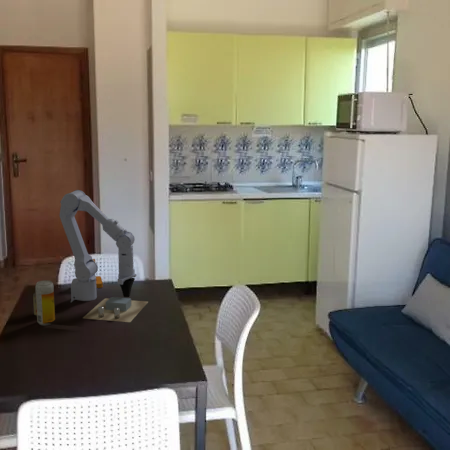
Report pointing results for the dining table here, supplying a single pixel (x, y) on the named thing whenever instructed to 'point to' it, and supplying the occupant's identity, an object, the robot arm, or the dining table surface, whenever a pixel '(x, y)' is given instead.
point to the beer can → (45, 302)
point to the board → (124, 315)
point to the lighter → (35, 303)
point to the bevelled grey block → (118, 303)
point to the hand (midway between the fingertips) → (126, 296)
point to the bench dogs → (116, 312)
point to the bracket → (98, 280)
